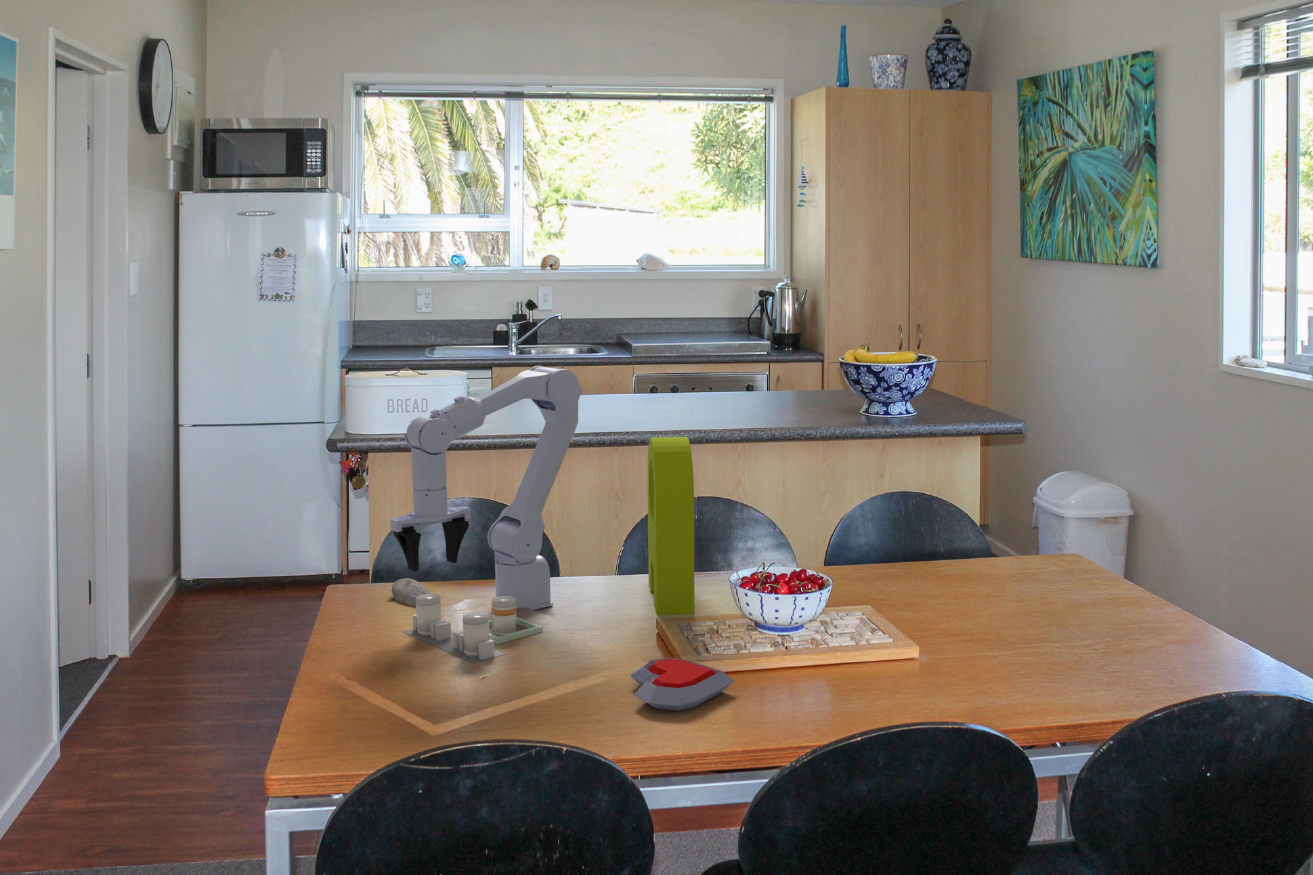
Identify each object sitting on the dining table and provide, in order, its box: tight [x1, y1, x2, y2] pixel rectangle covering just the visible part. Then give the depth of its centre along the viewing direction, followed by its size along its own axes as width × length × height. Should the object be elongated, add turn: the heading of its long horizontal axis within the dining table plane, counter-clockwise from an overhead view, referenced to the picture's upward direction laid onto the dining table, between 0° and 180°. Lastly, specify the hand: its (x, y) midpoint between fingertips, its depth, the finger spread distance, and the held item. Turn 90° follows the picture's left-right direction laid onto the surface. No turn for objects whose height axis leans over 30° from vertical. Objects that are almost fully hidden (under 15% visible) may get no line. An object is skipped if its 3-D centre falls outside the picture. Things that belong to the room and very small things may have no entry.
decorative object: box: [647, 436, 696, 616], centre depth 214 cm, size 20×7×30 cm, turn 5°
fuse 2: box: [462, 612, 490, 657], centre depth 184 cm, size 4×4×6 cm
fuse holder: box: [402, 614, 506, 664], centre depth 189 cm, size 6×21×4 cm, turn 42°
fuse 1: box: [415, 593, 442, 636], centre depth 194 cm, size 4×4×6 cm
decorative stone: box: [391, 577, 431, 608], centre depth 215 cm, size 6×16×3 cm, turn 31°
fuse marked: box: [491, 596, 518, 636], centre depth 195 cm, size 4×4×6 cm
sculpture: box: [630, 656, 735, 712], centre depth 169 cm, size 17×4×15 cm
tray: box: [489, 616, 543, 645], centre depth 195 cm, size 9×9×2 cm
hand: (432, 565), depth 200 cm, fingers open, 7 cm apart
